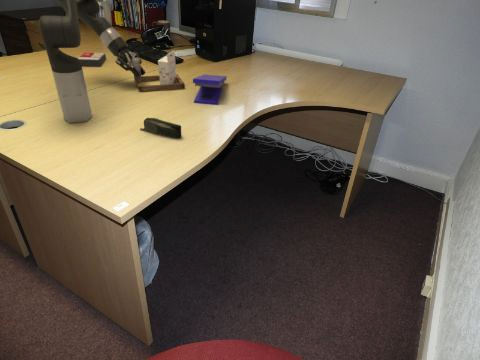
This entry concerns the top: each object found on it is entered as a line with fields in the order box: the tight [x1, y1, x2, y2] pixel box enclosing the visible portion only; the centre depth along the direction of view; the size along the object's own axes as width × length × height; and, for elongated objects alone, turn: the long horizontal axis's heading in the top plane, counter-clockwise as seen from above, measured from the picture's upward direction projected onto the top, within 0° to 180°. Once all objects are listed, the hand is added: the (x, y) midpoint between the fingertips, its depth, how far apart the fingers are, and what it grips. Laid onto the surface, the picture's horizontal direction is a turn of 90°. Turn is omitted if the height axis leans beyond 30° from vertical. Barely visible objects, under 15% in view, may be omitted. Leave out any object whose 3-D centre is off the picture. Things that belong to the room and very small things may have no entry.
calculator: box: [77, 52, 107, 68], centre depth 173 cm, size 11×4×15 cm
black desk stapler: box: [139, 117, 182, 140], centre depth 113 cm, size 5×3×15 cm
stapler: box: [192, 73, 227, 106], centre depth 147 cm, size 12×28×10 cm, turn 177°
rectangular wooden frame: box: [132, 57, 186, 92], centre depth 149 cm, size 14×21×12 cm
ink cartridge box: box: [157, 49, 177, 85], centre depth 150 cm, size 9×5×15 cm, turn 168°
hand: (141, 75), depth 146 cm, fingers closed on rectangular wooden frame, 3 cm apart
